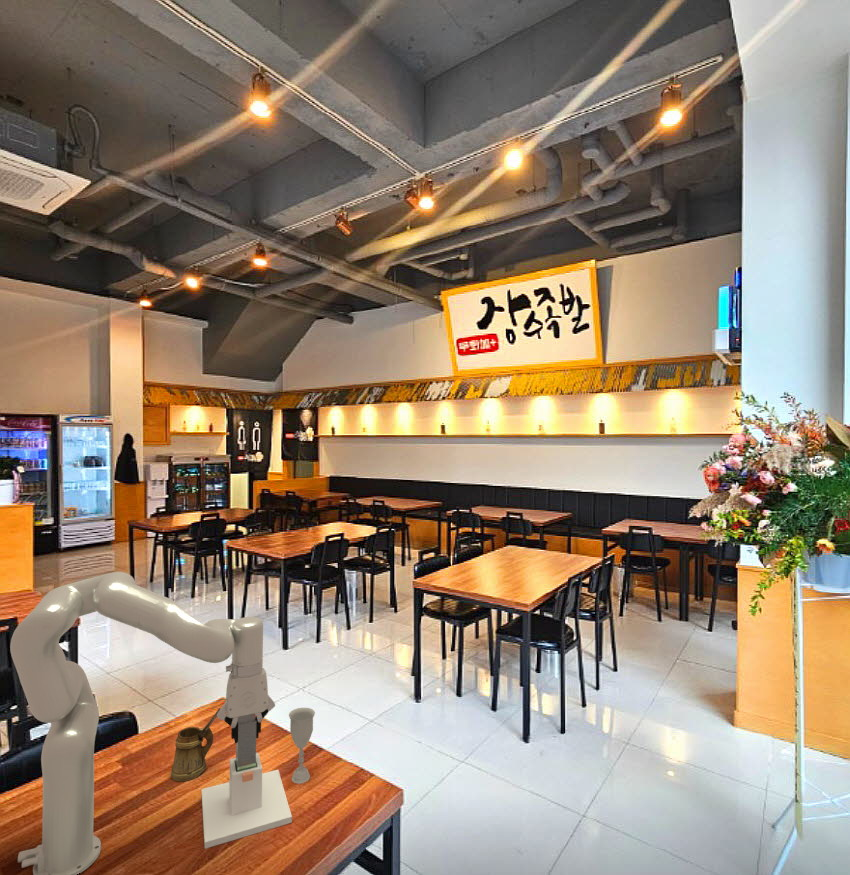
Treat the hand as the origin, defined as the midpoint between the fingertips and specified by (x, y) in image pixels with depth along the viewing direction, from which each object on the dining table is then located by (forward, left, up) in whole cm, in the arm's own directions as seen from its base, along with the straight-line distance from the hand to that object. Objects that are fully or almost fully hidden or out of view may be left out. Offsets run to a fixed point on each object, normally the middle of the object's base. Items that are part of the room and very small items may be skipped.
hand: (246, 737), depth 133 cm
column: (0, 0, -11) cm, 11 cm away
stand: (0, 0, -18) cm, 18 cm away
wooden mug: (-11, +21, -19) cm, 30 cm away
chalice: (+16, +6, -19) cm, 25 cm away
